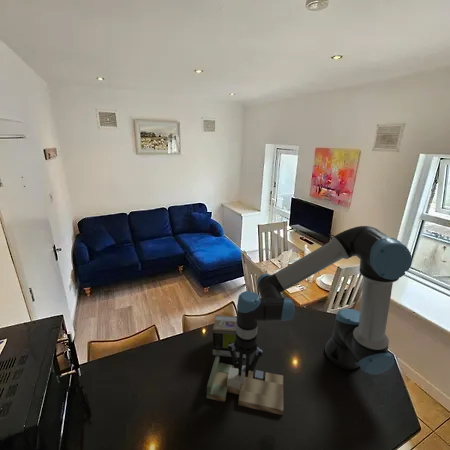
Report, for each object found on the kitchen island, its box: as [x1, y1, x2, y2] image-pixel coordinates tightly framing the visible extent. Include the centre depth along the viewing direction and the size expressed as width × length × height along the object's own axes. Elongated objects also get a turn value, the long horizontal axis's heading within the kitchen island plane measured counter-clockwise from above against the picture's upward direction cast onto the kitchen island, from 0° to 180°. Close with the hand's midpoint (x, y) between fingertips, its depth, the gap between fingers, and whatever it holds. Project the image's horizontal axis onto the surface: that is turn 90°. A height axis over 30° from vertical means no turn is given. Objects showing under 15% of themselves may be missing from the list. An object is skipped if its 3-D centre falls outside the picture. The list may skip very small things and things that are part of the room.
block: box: [254, 369, 264, 381], centre depth 103 cm, size 3×3×3 cm
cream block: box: [227, 367, 241, 389], centre depth 99 cm, size 5×5×4 cm
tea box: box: [212, 314, 246, 359], centre depth 115 cm, size 15×10×15 cm, turn 84°
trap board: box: [206, 355, 284, 416], centre depth 98 cm, size 28×14×6 cm, turn 78°
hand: (242, 381), depth 98 cm, fingers closed
